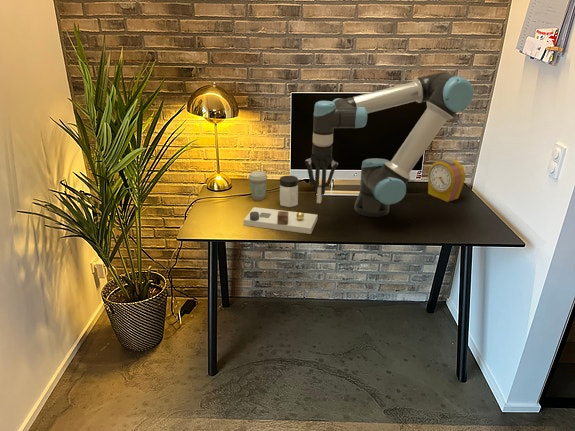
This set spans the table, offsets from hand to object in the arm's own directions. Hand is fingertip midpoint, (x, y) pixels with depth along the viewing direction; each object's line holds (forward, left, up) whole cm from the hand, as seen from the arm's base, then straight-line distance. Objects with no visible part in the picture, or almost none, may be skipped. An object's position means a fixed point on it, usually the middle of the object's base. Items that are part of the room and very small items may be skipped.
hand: (319, 201), depth 180 cm
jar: (+18, -20, -12) cm, 29 cm away
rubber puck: (+26, +4, -9) cm, 27 cm away
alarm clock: (-50, -48, -12) cm, 71 cm away
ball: (+8, 0, -7) cm, 11 cm away
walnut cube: (+14, +4, -9) cm, 17 cm away
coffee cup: (+33, -22, -12) cm, 41 cm away
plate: (+16, 0, -11) cm, 19 cm away
